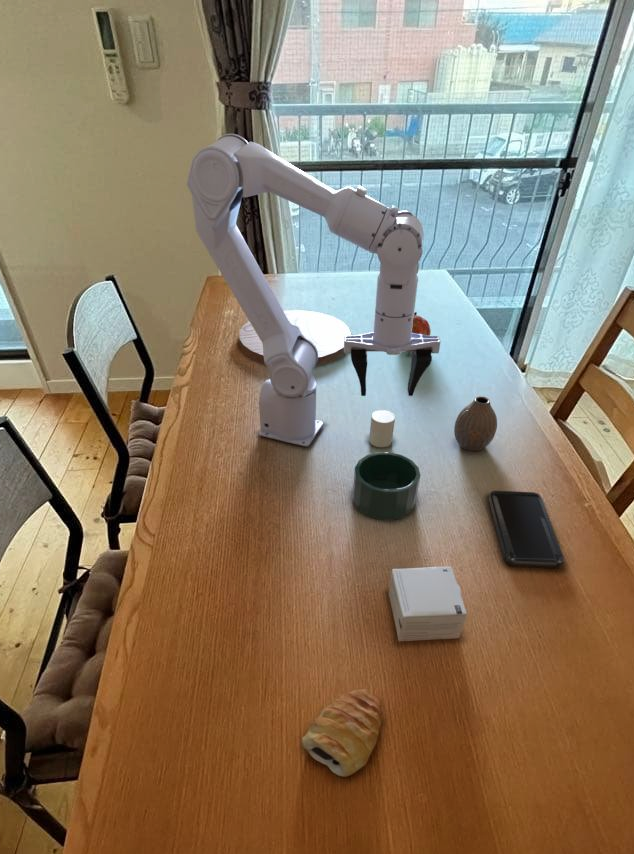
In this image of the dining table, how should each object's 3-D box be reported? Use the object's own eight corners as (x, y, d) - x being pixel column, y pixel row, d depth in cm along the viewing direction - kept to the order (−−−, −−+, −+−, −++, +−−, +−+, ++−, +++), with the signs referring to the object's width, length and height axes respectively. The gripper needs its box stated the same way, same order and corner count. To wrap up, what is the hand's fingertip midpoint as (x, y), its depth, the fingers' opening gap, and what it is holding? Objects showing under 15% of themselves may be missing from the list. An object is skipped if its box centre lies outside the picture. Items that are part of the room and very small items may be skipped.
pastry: (344, 685, 63) (347, 666, 60) (397, 717, 61) (401, 699, 58) (297, 750, 58) (297, 733, 55) (352, 788, 55) (354, 773, 52)
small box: (386, 593, 73) (391, 567, 69) (445, 590, 73) (453, 564, 70) (397, 642, 67) (402, 617, 64) (460, 640, 68) (469, 614, 64)
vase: (491, 458, 94) (505, 413, 88) (450, 453, 95) (460, 408, 89) (490, 435, 99) (503, 391, 93) (451, 431, 100) (461, 387, 94)
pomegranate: (426, 364, 122) (437, 323, 123) (421, 347, 115) (433, 304, 116) (393, 361, 125) (405, 320, 126) (387, 344, 118) (399, 301, 119)
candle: (366, 444, 97) (368, 419, 93) (373, 432, 99) (375, 408, 96) (388, 449, 96) (391, 424, 92) (394, 437, 98) (397, 412, 95)
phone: (507, 560, 75) (489, 490, 86) (505, 566, 76) (487, 495, 87) (566, 563, 75) (540, 492, 86) (563, 568, 76) (538, 497, 87)
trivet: (249, 374, 114) (248, 365, 113) (232, 323, 131) (231, 315, 130) (364, 361, 118) (365, 352, 117) (333, 313, 136) (334, 306, 134)
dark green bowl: (344, 510, 84) (346, 482, 81) (363, 474, 91) (366, 446, 87) (405, 526, 82) (410, 498, 78) (421, 488, 88) (426, 460, 84)
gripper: (345, 321, 79) (342, 405, 88) (448, 321, 78) (434, 405, 88) (344, 301, 84) (342, 383, 93) (441, 301, 83) (428, 383, 93)
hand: (386, 392), depth 91 cm, fingers open, 7 cm apart
